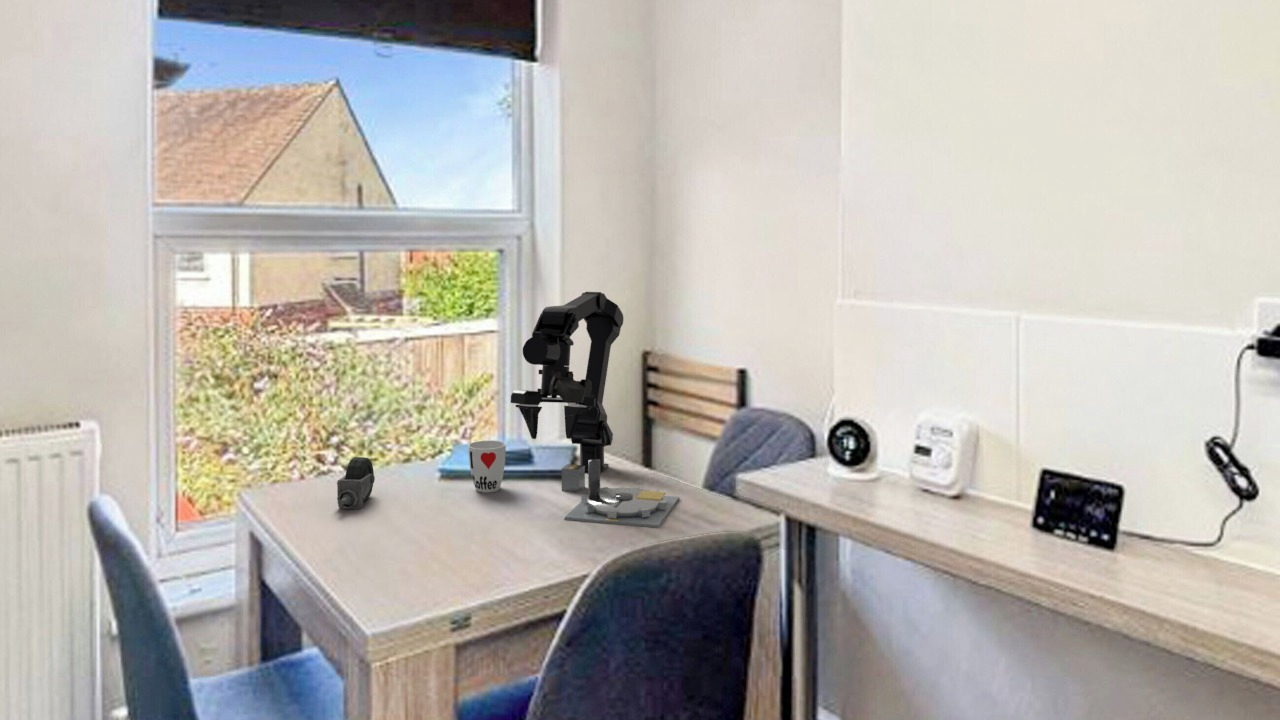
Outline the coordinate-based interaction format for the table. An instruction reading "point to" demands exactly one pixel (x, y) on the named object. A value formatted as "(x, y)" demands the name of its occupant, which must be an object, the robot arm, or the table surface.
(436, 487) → the table surface
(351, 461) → the caster wheel
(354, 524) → the table surface
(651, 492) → the sprocket
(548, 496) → the table surface
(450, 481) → the table surface
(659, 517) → the base plate
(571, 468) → the link block
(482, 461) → the cup
